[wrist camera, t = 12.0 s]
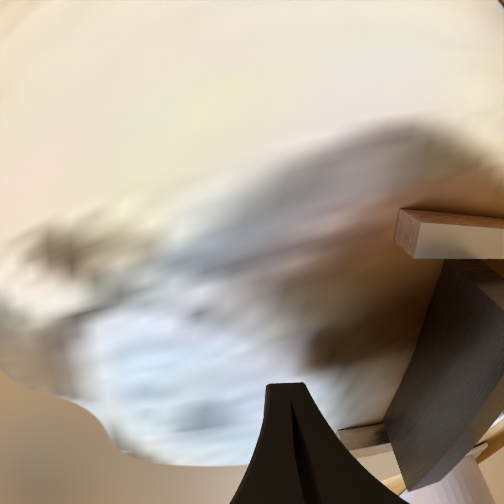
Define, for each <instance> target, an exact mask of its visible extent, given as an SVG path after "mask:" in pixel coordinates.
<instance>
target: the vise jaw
mask: <svg viewBox="0 0 504 504" xmlns="http://www.w3.org/2000/svg"><path fill="white" fill-rule="evenodd" d="M502 411H503V413H504V279H503V278H502V277H501V276H500V275H498V274H497V273H496V272H494V271H493V270H492V269H491V268H489V267H488V266H487V265H485V264H484V263H483V262H481V261H480V260H479V259H445V263H444V266H443V270H442V274H441V277H440V280H439V284H438V287H437V290H436V294H435V297H434V300H433V303H432V306H431V309H430V312H429V315H428V318H427V321H426V323H425V326H424V329H423V331H422V334H421V337H420V339H419V342H418V344H417V347H416V349H415V352H414V354H413V357H412V359H411V362H410V364H409V366H408V368H407V371H406V373H405V375H404V377H403V380H402V382H401V384H400V386H399V388H398V390H397V392H396V394H395V397H394V399H393V401H392V403H391V405H390V407H389V408H388V410H387V412H386V414H385V416H384V418H383V420H382V423H383V425H384V428H385V430H386V433H387V436H388V438H389V441H390V444H391V446H392V449H393V451H394V454H395V457H396V460H397V462H398V465H399V468H400V471H401V474H402V476H403V479H404V482H405V485H406V488H407V491H408V492H411V491H414V490H417V489H420V488H423V487H426V486H429V485H431V484H434V483H437V482H439V481H441V480H442V479H443V478H444V477H445V476H446V475H447V474H448V473H449V472H450V471H451V470H452V469H453V468H454V467H455V466H456V465H457V464H458V463H459V462H460V461H461V460H462V459H463V458H464V457H465V456H466V455H467V454H468V452H469V451H470V450H471V449H472V448H473V447H474V446H475V445H476V443H477V442H478V441H479V440H480V439H481V438H482V436H483V435H484V434H485V433H486V432H487V430H488V429H489V428H490V427H491V425H492V424H493V423H494V422H495V420H496V419H497V418H498V416H499V415H500V414H501V412H502Z"/></svg>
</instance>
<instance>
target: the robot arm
mask: <svg viewBox="0 0 504 504" xmlns="http://www.w3.org/2000/svg"><path fill="white" fill-rule="evenodd" d="M487 446H488V444H487V443H484V444H482V445H480V446H477V447H475V448H473V449H471V450H470V451H469V452H468V454H467V455H466V456H465V457H464V458H463V459H462V460H461V461H460V462H459V463H458V464H457V465H456V466H455V467H454V468H453V469H452V470H451V471H450V472H449V473H448V474H447V475H446V476H445V477H444V478H443V479H442V480H441V481H439V482H437V483H434V484H431V485H429V486H426V487H423V488H420V489H417V490H414V491H411V492H408V491H407V489H406V490H405V491H404V492H403V493H402V494H401V495H399V496H398V495H396V494H395V493H393V492H392V491H391V490H389V489H388V488H387V487H386V486H385V485H383V484H382V483H381V482H380V481H378V480H377V479H376V478H375V477H374V476H373V475H371V474H370V473H369V472H368V471H367V470H366V469H365V468H364V467H363V466H362V465H361V464H360V463H359V462H358V461H357V460H356V459H355V457H354V456H353V455H352V454H351V453H350V452H349V451H348V449H347V448H346V447H345V446H344V445H343V443H342V442H341V441H340V440H339V438H338V437H337V436H336V434H335V433H334V432H333V430H332V429H331V427H330V426H329V424H328V423H327V421H326V420H325V418H324V417H323V415H322V414H321V412H320V410H319V409H318V407H317V405H316V404H315V402H314V400H313V398H312V397H311V395H310V393H309V391H308V389H307V387H306V385H305V384H304V383H303V382H300V383H276V384H268V385H267V386H266V393H265V404H264V419H263V423H262V427H261V431H260V435H259V438H258V441H257V444H256V447H255V450H254V453H253V456H252V458H251V461H250V463H249V466H248V468H247V471H246V473H245V475H244V477H243V479H242V481H241V483H240V485H239V487H238V489H237V491H236V493H235V495H234V497H233V499H232V501H231V502H230V504H495V501H494V499H493V497H492V494H491V492H490V490H489V488H488V486H487V483H486V481H485V479H484V477H483V475H482V473H481V471H480V469H479V467H478V464H477V462H476V460H475V459H476V458H477V457H478V456H479V455H480V454H481V453H482V452H483V451H484V450H485V448H486V447H487Z"/></svg>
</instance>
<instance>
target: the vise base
mask: <svg viewBox="0 0 504 504" xmlns="http://www.w3.org/2000/svg"><path fill="white" fill-rule="evenodd" d="M394 242H395V243H397V244H398V245H399V246H400V247H401V248H402V249H403V250H404V251H406V252H407V253H408V254H409V255H410V256H411V257H412V258H413V259H504V219H497V218H489V217H481V216H472V215H463V214H453V213H443V212H432V211H421V210H409V209H400V210H399V217H398V223H397V228H396V234H395V239H394ZM501 413H503V411H502V412H501ZM336 436H337V437H338V438H339V440H340V441H341V442H342V443H343V445H344V446H345V447H346V448H347V449H348V451H349V452H350V453H351V454H352V455H353V456H354V457H355V459H356V458H361V457H367V456H372V455H376V454H381V453H385V452H390V451H393V449H392V446H391V444H390V441H389V438H388V436H387V433H386V430H385V428H384V425H383V423H382V424H377V425H371V426H366V427H359V428H353V429H346V430H339V431H337V433H336Z"/></svg>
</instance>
